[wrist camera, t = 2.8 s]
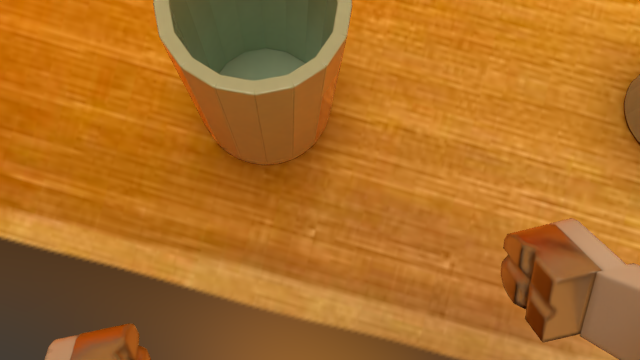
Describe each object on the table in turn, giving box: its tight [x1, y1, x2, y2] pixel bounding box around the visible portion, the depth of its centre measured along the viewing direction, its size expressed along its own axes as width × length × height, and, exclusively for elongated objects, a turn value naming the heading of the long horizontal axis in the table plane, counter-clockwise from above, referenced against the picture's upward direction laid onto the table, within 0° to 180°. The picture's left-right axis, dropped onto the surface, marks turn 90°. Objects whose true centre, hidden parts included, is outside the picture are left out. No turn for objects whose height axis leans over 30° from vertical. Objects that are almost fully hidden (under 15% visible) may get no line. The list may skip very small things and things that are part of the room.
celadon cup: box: [153, 0, 352, 165], centre depth 20 cm, size 6×6×9 cm
